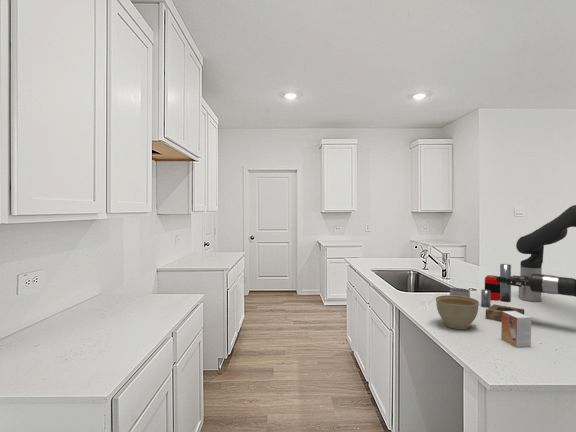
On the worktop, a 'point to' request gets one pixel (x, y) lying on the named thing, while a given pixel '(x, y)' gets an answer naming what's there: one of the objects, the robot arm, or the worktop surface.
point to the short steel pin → (485, 298)
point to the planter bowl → (457, 310)
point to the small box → (516, 328)
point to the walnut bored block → (499, 312)
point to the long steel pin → (504, 288)
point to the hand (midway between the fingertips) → (498, 278)
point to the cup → (460, 292)
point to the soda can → (493, 286)
